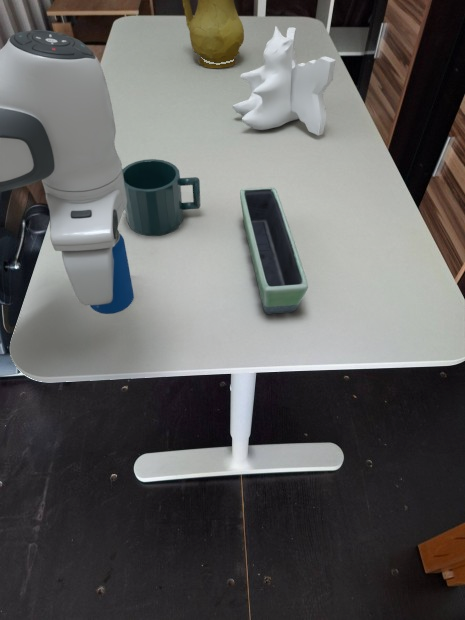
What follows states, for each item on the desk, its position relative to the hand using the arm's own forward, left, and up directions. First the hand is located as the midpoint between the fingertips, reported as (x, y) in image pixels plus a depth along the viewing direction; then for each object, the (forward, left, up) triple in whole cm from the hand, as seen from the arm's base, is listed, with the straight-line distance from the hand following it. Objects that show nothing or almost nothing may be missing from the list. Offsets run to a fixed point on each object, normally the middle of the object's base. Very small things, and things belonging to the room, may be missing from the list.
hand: (107, 278), depth 62 cm
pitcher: (+29, +113, -12) cm, 117 cm away
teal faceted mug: (+8, +28, -11) cm, 32 cm away
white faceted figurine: (+39, +68, -12) cm, 79 cm away
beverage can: (0, 0, -5) cm, 5 cm away
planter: (+26, +13, -12) cm, 31 cm away
